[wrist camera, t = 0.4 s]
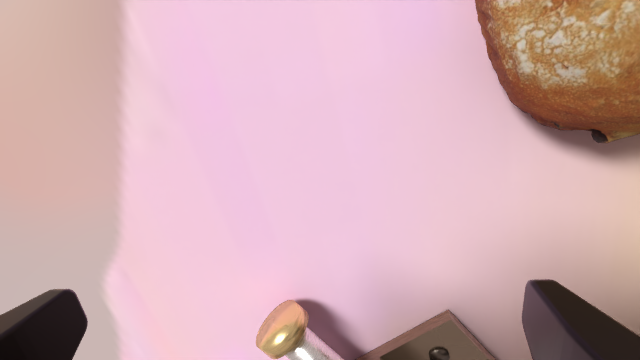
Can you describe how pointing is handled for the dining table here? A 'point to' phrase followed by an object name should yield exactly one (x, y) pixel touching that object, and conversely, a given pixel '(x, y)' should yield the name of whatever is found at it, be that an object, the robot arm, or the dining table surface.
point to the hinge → (432, 343)
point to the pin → (292, 335)
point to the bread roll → (568, 61)
